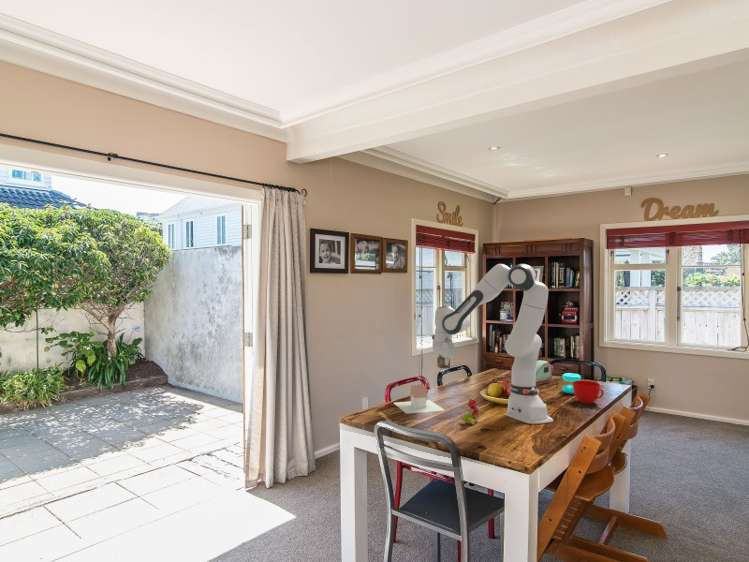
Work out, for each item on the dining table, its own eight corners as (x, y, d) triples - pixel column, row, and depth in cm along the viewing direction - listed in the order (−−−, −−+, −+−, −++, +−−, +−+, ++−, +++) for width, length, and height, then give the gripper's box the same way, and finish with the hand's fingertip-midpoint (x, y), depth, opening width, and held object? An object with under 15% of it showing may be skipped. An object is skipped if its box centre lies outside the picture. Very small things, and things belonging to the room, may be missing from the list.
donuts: (558, 374, 275) (567, 372, 281) (558, 391, 275) (567, 389, 281) (575, 377, 267) (584, 374, 273) (575, 395, 267) (584, 392, 274)
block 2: (426, 407, 236) (426, 397, 236) (415, 408, 235) (415, 398, 235) (421, 404, 242) (422, 394, 242) (410, 405, 240) (410, 395, 240)
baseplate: (445, 412, 231) (445, 410, 231) (406, 415, 226) (406, 413, 226) (429, 402, 251) (429, 400, 251) (393, 405, 245) (393, 402, 245)
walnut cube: (450, 368, 246) (450, 358, 246) (441, 368, 245) (441, 358, 245) (446, 366, 251) (446, 356, 251) (437, 366, 250) (437, 357, 250)
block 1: (426, 397, 236) (426, 387, 236) (415, 398, 235) (415, 388, 234) (422, 394, 242) (422, 384, 242) (410, 395, 240) (410, 385, 240)
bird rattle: (469, 424, 219) (458, 420, 214) (475, 401, 222) (464, 396, 217) (480, 428, 215) (469, 423, 209) (487, 403, 217) (475, 399, 212)
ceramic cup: (593, 408, 240) (593, 388, 240) (567, 400, 255) (567, 381, 255) (612, 405, 245) (612, 386, 245) (585, 398, 260) (585, 379, 260)
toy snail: (533, 386, 288) (533, 363, 288) (522, 384, 294) (523, 361, 294) (557, 381, 303) (557, 359, 303) (546, 379, 309) (546, 357, 309)
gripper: (457, 339, 239) (458, 367, 239) (441, 335, 259) (441, 360, 259) (446, 339, 237) (446, 367, 237) (430, 335, 257) (430, 361, 257)
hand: (443, 364), depth 248 cm, fingers closed on walnut cube, 5 cm apart
